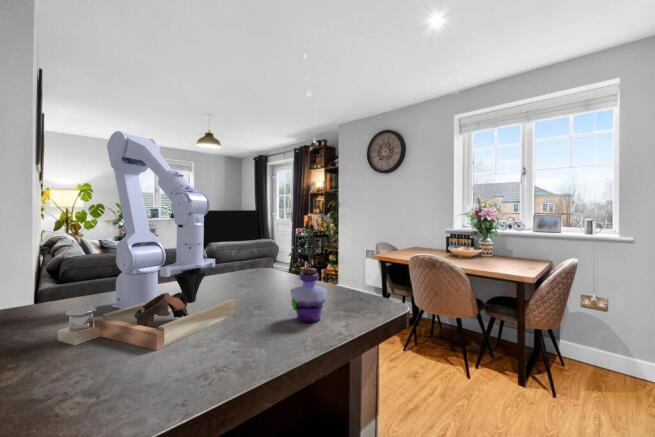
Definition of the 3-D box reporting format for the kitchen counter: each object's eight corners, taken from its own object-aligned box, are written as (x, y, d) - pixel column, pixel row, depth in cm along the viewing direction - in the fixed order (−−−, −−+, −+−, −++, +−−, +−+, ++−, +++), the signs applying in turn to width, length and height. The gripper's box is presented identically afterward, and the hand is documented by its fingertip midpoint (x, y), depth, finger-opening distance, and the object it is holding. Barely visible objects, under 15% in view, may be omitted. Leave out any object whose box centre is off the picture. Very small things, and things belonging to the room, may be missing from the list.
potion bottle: (282, 319, 71) (282, 267, 71) (309, 311, 78) (309, 263, 78) (307, 329, 66) (308, 273, 65) (334, 319, 72) (335, 268, 72)
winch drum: (57, 340, 58) (58, 311, 57) (87, 331, 62) (87, 304, 62) (74, 345, 56) (74, 315, 56) (103, 335, 60) (103, 307, 60)
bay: (94, 334, 61) (94, 316, 61) (182, 305, 81) (182, 291, 81) (156, 350, 54) (157, 330, 54) (235, 314, 74) (235, 299, 74)
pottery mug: (183, 340, 60) (158, 307, 58) (143, 357, 61) (118, 325, 59) (207, 305, 72) (187, 276, 69) (173, 320, 73) (152, 292, 71)
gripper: (177, 248, 63) (176, 313, 64) (225, 242, 77) (224, 296, 77) (152, 246, 66) (152, 309, 66) (203, 240, 80) (202, 293, 80)
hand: (189, 302), depth 72 cm, fingers closed
